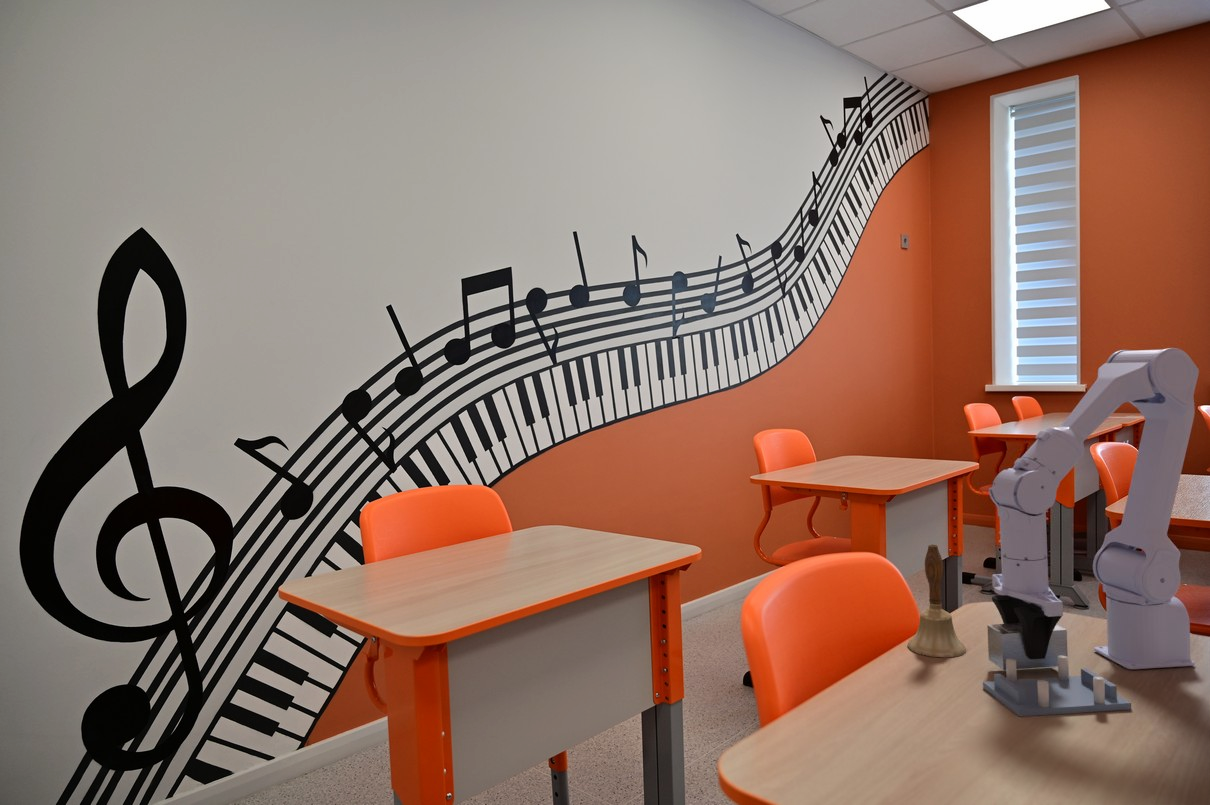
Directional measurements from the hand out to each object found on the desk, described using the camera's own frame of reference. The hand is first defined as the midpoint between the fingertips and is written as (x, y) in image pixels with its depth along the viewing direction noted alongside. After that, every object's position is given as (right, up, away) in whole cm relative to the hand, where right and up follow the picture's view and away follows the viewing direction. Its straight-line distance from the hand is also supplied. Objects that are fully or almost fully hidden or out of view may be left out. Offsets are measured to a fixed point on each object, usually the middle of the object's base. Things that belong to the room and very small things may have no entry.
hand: (1027, 652), depth 113 cm
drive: (0, -2, 0) cm, 2 cm away
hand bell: (-8, -3, +11) cm, 14 cm away
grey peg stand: (-1, -3, -9) cm, 10 cm away
